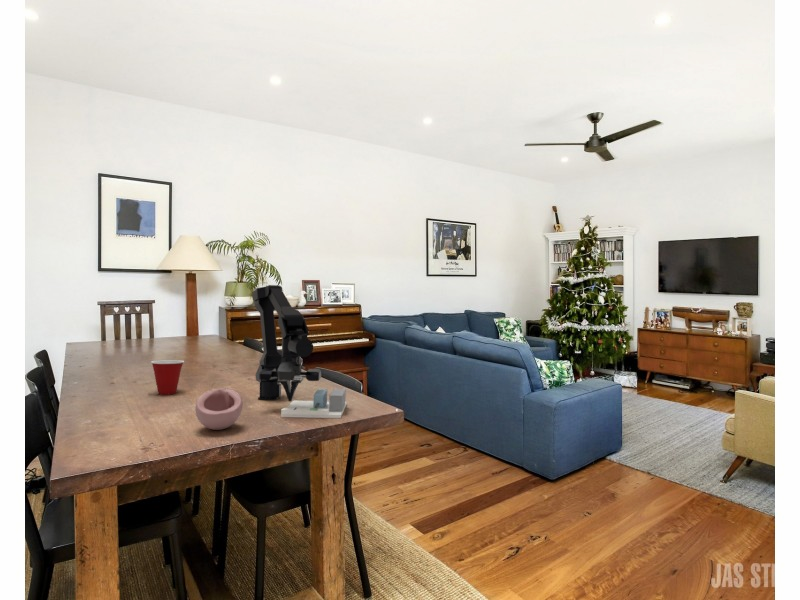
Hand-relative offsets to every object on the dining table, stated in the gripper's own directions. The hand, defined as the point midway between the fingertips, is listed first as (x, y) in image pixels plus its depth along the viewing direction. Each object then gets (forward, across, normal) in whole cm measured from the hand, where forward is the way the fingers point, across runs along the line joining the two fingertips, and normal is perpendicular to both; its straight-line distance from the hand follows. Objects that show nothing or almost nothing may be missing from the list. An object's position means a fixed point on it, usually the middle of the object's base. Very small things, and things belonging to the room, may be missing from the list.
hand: (290, 401), depth 146 cm
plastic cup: (+4, -48, +20) cm, 52 cm away
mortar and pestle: (+3, -15, -20) cm, 25 cm away
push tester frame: (+3, +8, 0) cm, 9 cm away
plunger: (+1, +10, -2) cm, 10 cm away
